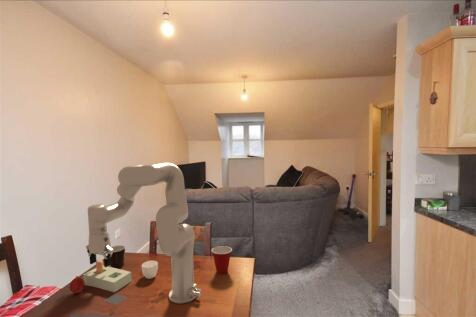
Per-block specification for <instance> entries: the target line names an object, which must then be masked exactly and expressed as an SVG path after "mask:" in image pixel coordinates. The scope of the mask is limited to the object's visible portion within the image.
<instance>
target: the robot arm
mask: <svg viewBox="0 0 476 317" xmlns="http://www.w3.org/2000/svg"><path fill="white" fill-rule="evenodd" d="M117 178H118V182H119V185H118V186H117V188H116V191H117V194H118V196H120V198H119V199H118V200H117V202H115V203H111V204H108V205H104V204H103V203H101V204H99V203H98V204H92V205H90V206H88V208H87V218H88V220H87V222H88V231H89V232H88V244H87V245H86V246H85V248H86V252H87V254H88V257H89V264H90V265H93V264H96V261H98V260H97V255H99V256H102V257H103V258H104V259H103V265H104V267H110V266H111V259H110V257H111V256H112V253H113V249H112V248H111V247H112V246H111V239H110V235H109V232H108V229H107V228H108V227H107V223H110V222H113V221H115V220H118V219H120V218H122V217H124V216H126V214H127V213H128V212H129V211H130V209H131V208H132V207H133V206H134V202H135V196H136V195H137V194H138V193H139V191H140V190H141V188H142V187H149V186H155V185H159V184H161V183H162V184H163V183H165V190H164V194H165V201H166V202H165V203H166V204H165V205H162V206H161V207H159V209H158V210H157V212H156V215H155V226H156V232H157V238H158V245H159V248H160V251H161V252H162V253H163V254H164V255H165V256H168V257H171V258H170V260H171V261H170V262H171V264H170V265H171V267H170V268H171V290H170V291H169V293H168V299H169V301H170V302H172V303H175V304H186V303H191V302H192V301H193V300H194V299H196V298H200V297H201V296H202V289H201V288H198V287H197V284H196V283H195V269H194V246H195V239H196V238H195V237H196V236H195V234H196V233H195V230H194V228H193V227H192V226H191V225H190V224H188V223H182V222H183V221H186V219H187V218H188V216H189V207H188V201H187V200H188V199H187V194H186V187H185V178H184V174H183V171H182V170H181V169H180V167H179V166H177V165H176V164H174V163H171V162H158V163H153V164H146V165H143V164H136V165H135V164H134V165H128V166H124V167H122V169H120V171H119V172H118V175H117Z"/></svg>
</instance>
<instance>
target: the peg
mask: <svg viewBox="0 0 476 317" xmlns="http://www.w3.org/2000/svg"><path fill="white" fill-rule="evenodd" d="M103 265H104V259H100V260H97V261H96V262H95V268H96V273H97V274H101V273H103Z"/></svg>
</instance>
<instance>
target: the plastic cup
mask: <svg viewBox="0 0 476 317" xmlns="http://www.w3.org/2000/svg"><path fill="white" fill-rule="evenodd" d="M232 251H233V248H232V247H230V246H226V245H223V246H222V245H220V246H214V247H213V248H211V253H212V255H213V260H214V261H213V262H214V267H215V271H216V273H217V274H219V275H225V274H227V273H228V271H229V266H230V259H231V254H232Z"/></svg>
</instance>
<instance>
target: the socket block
mask: <svg viewBox="0 0 476 317" xmlns="http://www.w3.org/2000/svg"><path fill="white" fill-rule="evenodd" d="M82 275H83V280H84V282H85V286H88V287H95V288H97V289H100V290H105V291H109V292H111V293H116V292H118V291H119V290H121V289H122V288H124V287H125V286H127V285H128V284H129V283H131V282H132V271H128V270H125V269H121V268H119V269H116V268H112V267H111V266H108V267H104V264H103V273H101V274H97V273H96V267H95V268H93V269H91V270H89V271H87V272H86V273H84V274H82Z"/></svg>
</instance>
